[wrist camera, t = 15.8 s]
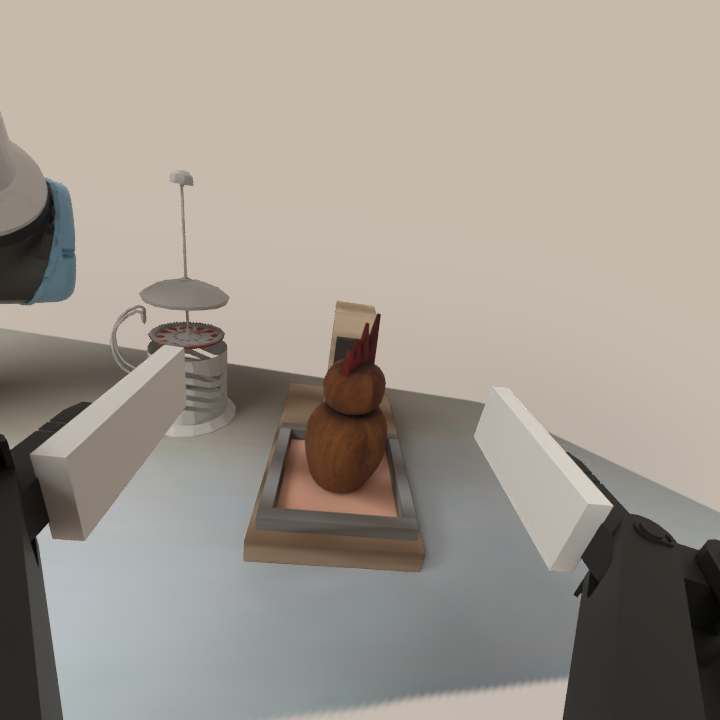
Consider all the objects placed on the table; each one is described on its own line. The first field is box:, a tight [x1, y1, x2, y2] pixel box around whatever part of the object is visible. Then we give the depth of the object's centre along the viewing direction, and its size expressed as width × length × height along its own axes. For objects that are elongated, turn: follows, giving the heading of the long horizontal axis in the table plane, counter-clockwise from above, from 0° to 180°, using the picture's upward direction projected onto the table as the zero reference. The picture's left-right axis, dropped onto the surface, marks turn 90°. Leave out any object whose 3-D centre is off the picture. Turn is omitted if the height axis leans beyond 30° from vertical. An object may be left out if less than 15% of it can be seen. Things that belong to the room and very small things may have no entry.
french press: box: [110, 170, 236, 437], centre depth 35 cm, size 10×12×25 cm
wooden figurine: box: [305, 314, 388, 493], centre depth 28 cm, size 7×6×15 cm
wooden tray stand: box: [244, 301, 425, 572], centre depth 34 cm, size 24×13×15 cm, turn 3°
